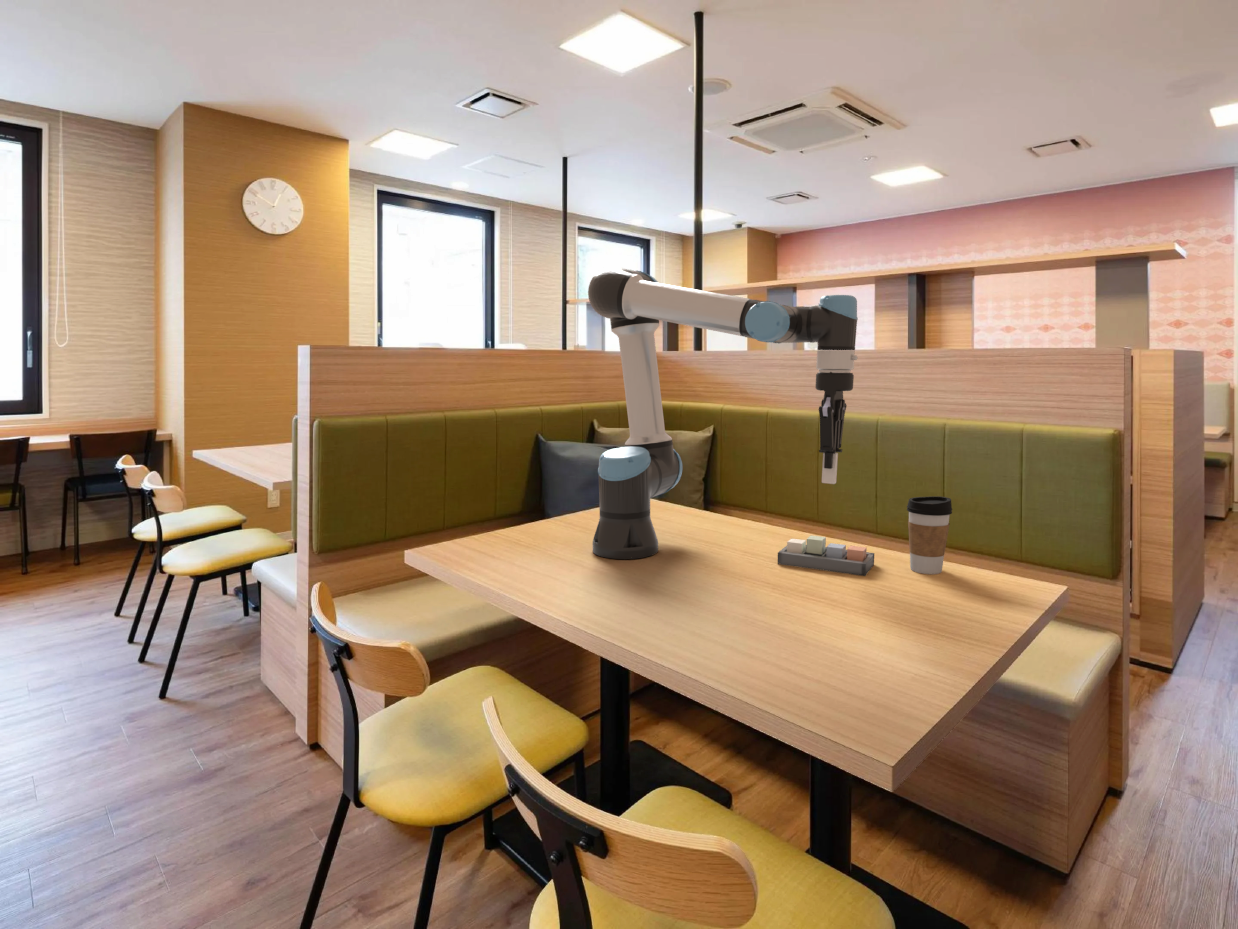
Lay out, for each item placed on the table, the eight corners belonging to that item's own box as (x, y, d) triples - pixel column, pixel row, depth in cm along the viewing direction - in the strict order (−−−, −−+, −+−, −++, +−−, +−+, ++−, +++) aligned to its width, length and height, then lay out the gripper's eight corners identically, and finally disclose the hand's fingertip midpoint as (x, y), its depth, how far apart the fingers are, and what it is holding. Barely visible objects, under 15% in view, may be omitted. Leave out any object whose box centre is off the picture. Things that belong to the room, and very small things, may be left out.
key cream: (786, 555, 150) (787, 541, 149) (791, 551, 152) (791, 538, 152) (801, 557, 148) (801, 543, 148) (805, 553, 151) (806, 540, 150)
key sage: (806, 552, 147) (806, 538, 147) (810, 548, 150) (810, 535, 150) (821, 554, 146) (821, 540, 145) (825, 550, 148) (825, 537, 148)
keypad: (777, 564, 148) (777, 552, 148) (790, 553, 156) (790, 542, 155) (865, 576, 139) (865, 564, 139) (874, 564, 147) (874, 553, 146)
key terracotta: (846, 563, 143) (847, 549, 143) (850, 559, 146) (850, 545, 146) (862, 565, 142) (863, 551, 141) (866, 561, 144) (866, 547, 144)
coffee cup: (953, 577, 137) (958, 503, 135) (908, 575, 139) (912, 501, 137) (942, 565, 146) (946, 494, 143) (900, 563, 147) (903, 493, 145)
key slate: (826, 560, 145) (826, 546, 145) (830, 556, 148) (830, 543, 148) (841, 562, 144) (842, 548, 143) (845, 558, 147) (845, 545, 146)
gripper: (845, 372, 137) (838, 489, 141) (860, 371, 148) (854, 480, 152) (807, 371, 141) (802, 485, 145) (825, 370, 152) (820, 476, 156)
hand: (828, 482), depth 148 cm, fingers closed
